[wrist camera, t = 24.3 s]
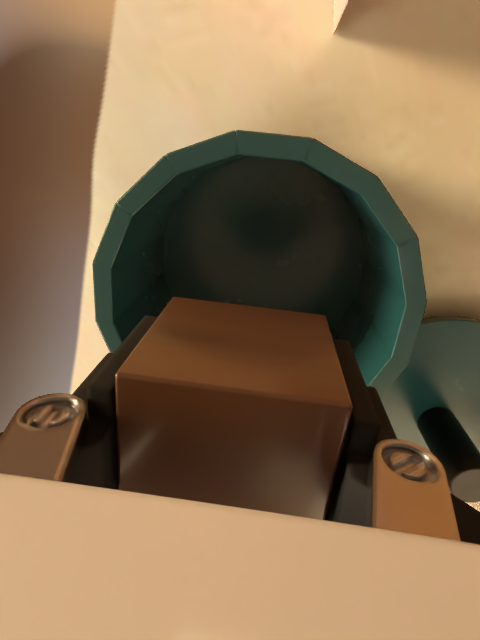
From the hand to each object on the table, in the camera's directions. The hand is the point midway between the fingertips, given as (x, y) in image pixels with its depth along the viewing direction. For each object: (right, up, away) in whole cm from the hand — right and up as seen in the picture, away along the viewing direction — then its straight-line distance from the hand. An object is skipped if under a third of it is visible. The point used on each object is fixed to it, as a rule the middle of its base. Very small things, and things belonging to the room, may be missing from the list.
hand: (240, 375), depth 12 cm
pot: (+1, +5, +12) cm, 14 cm away
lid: (+13, -5, +15) cm, 20 cm away
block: (0, 0, 0) cm, 0 cm away
